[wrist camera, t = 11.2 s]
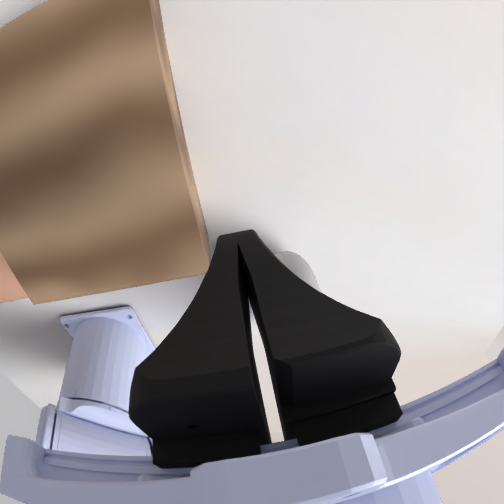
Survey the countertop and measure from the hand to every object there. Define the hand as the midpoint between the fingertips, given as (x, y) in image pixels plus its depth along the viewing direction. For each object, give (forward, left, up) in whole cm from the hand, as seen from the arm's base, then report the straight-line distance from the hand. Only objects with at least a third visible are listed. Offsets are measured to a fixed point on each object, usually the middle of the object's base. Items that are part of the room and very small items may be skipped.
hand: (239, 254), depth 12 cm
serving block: (+4, +9, -9) cm, 14 cm away
